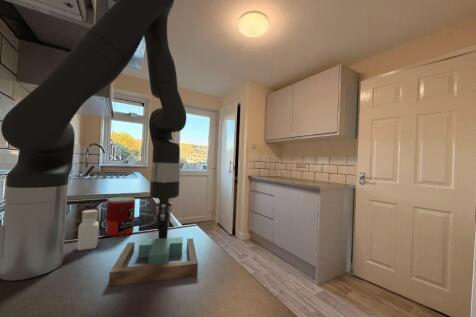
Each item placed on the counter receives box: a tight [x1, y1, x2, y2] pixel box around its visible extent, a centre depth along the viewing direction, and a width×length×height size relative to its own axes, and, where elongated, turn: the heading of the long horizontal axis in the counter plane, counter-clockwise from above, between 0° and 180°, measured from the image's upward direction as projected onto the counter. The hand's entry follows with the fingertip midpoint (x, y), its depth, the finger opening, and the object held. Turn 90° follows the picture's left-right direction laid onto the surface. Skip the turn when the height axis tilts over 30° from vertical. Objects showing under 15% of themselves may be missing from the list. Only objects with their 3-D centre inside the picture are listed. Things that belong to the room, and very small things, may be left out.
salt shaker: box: [76, 209, 100, 251], centre depth 53 cm, size 4×4×10 cm
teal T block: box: [138, 236, 184, 265], centre depth 49 cm, size 10×10×3 cm
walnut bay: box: [108, 238, 199, 287], centre depth 46 cm, size 16×14×2 cm
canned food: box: [105, 196, 136, 238], centre depth 64 cm, size 8×8×11 cm
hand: (162, 243), depth 55 cm, fingers closed
